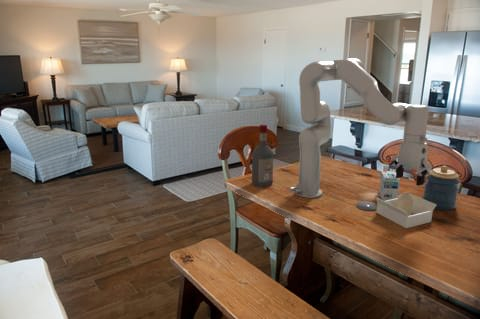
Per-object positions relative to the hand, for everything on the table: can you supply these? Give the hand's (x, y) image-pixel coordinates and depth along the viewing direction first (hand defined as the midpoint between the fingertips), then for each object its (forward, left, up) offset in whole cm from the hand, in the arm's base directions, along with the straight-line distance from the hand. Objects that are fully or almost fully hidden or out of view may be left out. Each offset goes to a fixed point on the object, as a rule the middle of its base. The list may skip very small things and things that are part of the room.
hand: (409, 181), depth 141 cm
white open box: (0, 0, -15) cm, 15 cm away
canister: (+24, +3, -16) cm, 29 cm away
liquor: (-34, +57, -16) cm, 69 cm away
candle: (0, 0, -16) cm, 16 cm away
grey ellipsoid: (-6, +14, -15) cm, 22 cm away
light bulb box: (+11, +19, -16) cm, 27 cm away
